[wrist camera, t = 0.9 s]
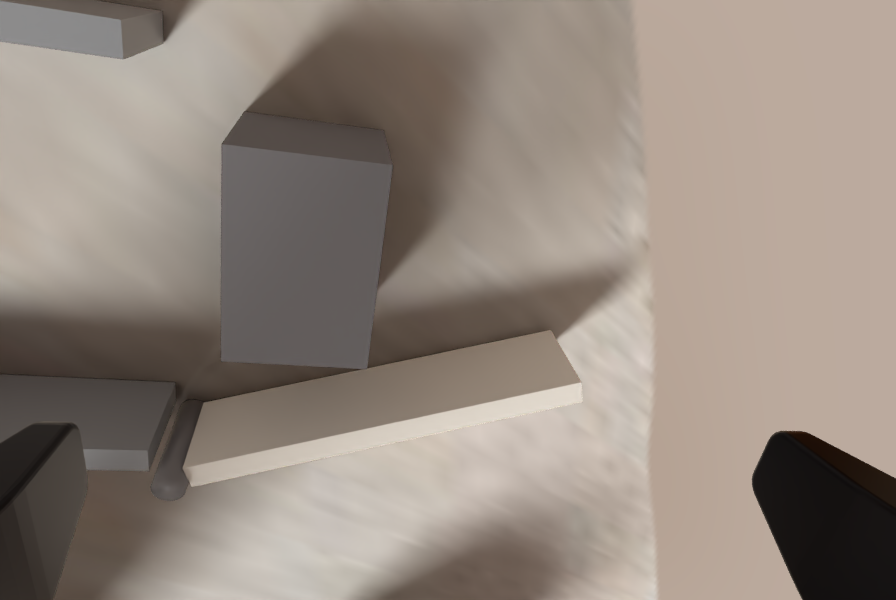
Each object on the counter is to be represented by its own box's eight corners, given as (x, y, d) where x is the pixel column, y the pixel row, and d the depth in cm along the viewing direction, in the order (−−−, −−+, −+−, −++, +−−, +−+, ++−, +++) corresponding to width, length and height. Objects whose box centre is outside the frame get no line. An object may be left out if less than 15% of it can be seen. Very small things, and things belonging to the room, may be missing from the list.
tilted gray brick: (362, 304, 21) (367, 369, 18) (241, 295, 20) (220, 361, 17) (383, 129, 19) (392, 165, 15) (245, 110, 18) (221, 144, 14)
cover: (185, 424, 22) (157, 503, 19) (175, 402, 22) (145, 480, 18) (550, 347, 23) (586, 410, 20) (549, 324, 23) (584, 385, 19)
